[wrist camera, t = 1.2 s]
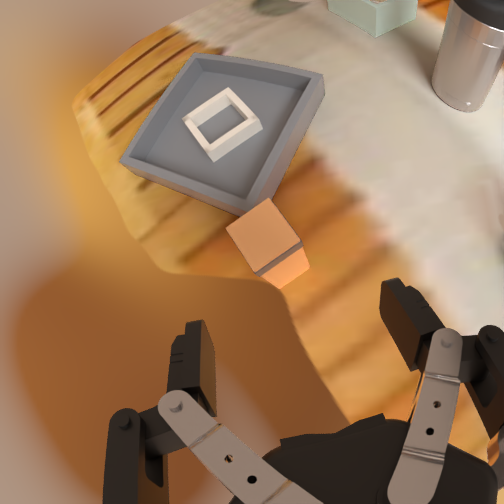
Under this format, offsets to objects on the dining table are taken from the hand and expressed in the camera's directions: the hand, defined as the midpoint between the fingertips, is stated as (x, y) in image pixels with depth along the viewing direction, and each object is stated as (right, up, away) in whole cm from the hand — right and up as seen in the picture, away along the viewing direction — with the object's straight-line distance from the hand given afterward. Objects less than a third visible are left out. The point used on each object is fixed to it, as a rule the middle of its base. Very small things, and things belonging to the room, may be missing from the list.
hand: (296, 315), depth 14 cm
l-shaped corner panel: (+21, +47, +31) cm, 60 cm away
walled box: (-6, +20, +31) cm, 37 cm away
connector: (+2, +1, +25) cm, 25 cm away
